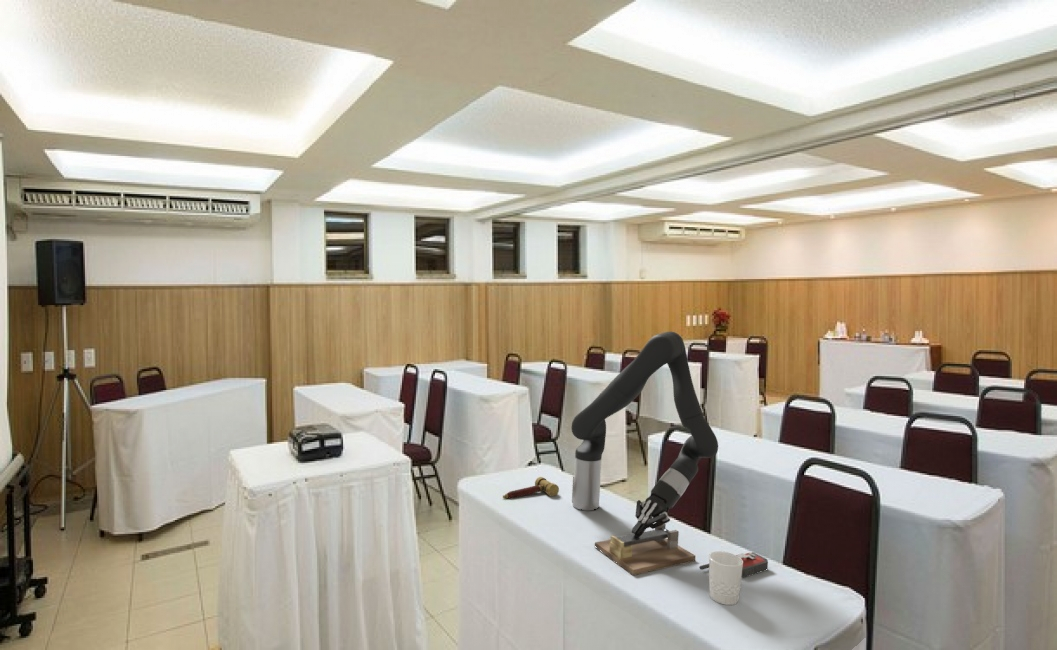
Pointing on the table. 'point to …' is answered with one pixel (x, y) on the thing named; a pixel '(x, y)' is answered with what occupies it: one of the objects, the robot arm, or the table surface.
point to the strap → (644, 537)
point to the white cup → (725, 577)
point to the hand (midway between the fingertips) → (634, 535)
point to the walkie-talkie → (749, 564)
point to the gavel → (535, 489)
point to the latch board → (647, 553)
